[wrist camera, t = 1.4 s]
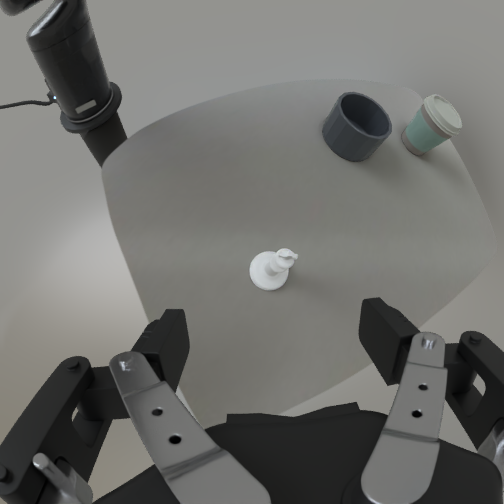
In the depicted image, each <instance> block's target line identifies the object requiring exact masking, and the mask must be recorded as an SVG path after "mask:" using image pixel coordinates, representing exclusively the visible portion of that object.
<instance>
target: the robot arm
mask: <svg viewBox="0 0 504 504" xmlns="http://www.w3.org/2000/svg"><path fill="white" fill-rule="evenodd" d="M40 1H42V0H0V8H1V9H2V11H3V12H4V13H5V14H7V15H9V16H15V15H18V14H20V13H22V12H24V11H25V10H27V9H29V8H30V7H32V6H33V5H35V4H37V3H39V2H40ZM26 39H27V43H28V45H29V47H30V49H31V51H32V53H33V55H34V57H35V59H36V61H37V63H38V65H39V67H40V69H41V71H42V73H43V75H44V77H45V82H46V84H47V86H48V88H49V90H50V91H49V93H48V94H47V96H48V98H49V99H50V101H49V102H41V101H32V100H31V101H23V102H18V103H13V104H8V105H3V106H0V109H3V108H9V107H15V106H19V105H25V104H36V105H43V106H47V105H50V104H52V103H57V104H58V105H59V107H60V109H61V111H62V112H63V114H65V116H66V118H67V119H68V121H69V122H71V123H74V124H81V123H85V122H88V121H91V120H93V119H95V118H96V117H98V116H99V115H101V114H102V113H103V112H104V111H105V110H106V109H107V108H108V107H109V106H110V104H111V102H112V100H113V96H114V93H113V90H112V88H111V86H110V83H109V80H108V77H107V74H106V71H105V67H104V64H103V61H102V58H101V55H100V52H99V49H98V45H97V42H96V38H95V35H94V31H93V28H92V24H91V21H90V17H89V13H88V9H87V3H86V0H54V1H53V3H52V4H51V6H50V7H49V8H48V9H47V11H46V12H45V13H44V14H43V15H42V16H41V17H40V18H39V19H38V20H37V21H36V22H35V23H34V24H33V25H32V27H31V28H30V29H29V31H28V33H27V36H26ZM359 339H360V342H361V344H362V345H363V347H364V348H365V350H366V352H367V353H368V355H369V356H370V358H371V360H372V361H373V363H374V364H375V366H376V368H377V369H378V371H379V373H380V374H381V376H382V377H383V379H384V381H385V382H386V384H387V386H389V385H394V384H399V387H398V390H397V394H396V396H395V399H394V402H393V405H392V407H391V410H390V413H389V415H386V414H383V413H379V412H374V411H367V410H360V409H359V407H358V404H357V402H353V403H348V404H343V405H336V406H330V407H325V408H322V409H320V410H316V411H313V412H310V413H307V414H304V415H300V416H296V417H288V416H279V415H270V414H262V413H253V414H227V421H226V423H223V424H219V425H215V426H212V427H209V428H207V429H205V430H204V429H203V428H202V427H201V426H200V424H199V423H198V422H197V421H196V420H195V418H194V417H193V416H192V415H191V414H190V412H189V411H188V410H187V408H186V407H185V406H184V405H183V403H182V402H181V401H180V399H179V398H178V397H177V396H176V394H175V393H176V389H177V386H178V383H179V380H180V377H181V374H182V371H183V369H184V366H185V363H186V360H187V357H188V354H189V348H190V343H189V336H188V330H187V324H186V318H185V313H184V310H183V309H166V310H165V312H164V314H163V315H162V317H161V318H160V320H154V321H153V322H151V323H150V324H148V325H147V327H146V328H145V330H144V332H143V333H142V335H141V336H140V338H139V339H138V340H137V342H136V343H135V345H134V346H133V348H132V350H131V351H130V352H124V353H120V354H118V355H116V356H115V357H113V358H112V359H111V361H110V363H109V366H105V367H94V368H92V367H91V365H90V362H89V360H88V359H87V358H85V357H82V356H75V357H70V358H68V359H66V360H64V361H63V362H61V364H59V366H58V367H57V368H56V369H55V371H54V372H53V373H52V374H51V376H50V377H49V378H48V380H47V381H46V382H45V383H44V385H43V386H42V387H41V389H40V390H39V391H38V392H37V394H36V395H35V397H34V398H33V399H32V400H31V402H30V403H29V405H28V406H27V407H26V409H25V410H24V411H23V413H22V415H21V416H20V417H19V418H18V420H17V422H16V423H15V424H14V426H13V427H12V429H11V430H10V432H9V433H8V435H7V436H6V438H5V439H4V441H3V442H2V444H1V445H0V497H1V498H2V499H3V500H4V501H5V502H7V503H8V504H503V497H502V495H503V492H504V352H503V351H502V350H500V348H498V347H497V346H496V345H495V344H494V343H493V342H492V341H491V340H490V339H489V338H487V337H486V336H485V335H484V334H482V333H479V332H476V331H466V332H464V333H463V334H462V335H461V338H460V341H459V343H453V344H452V343H451V344H445V341H444V339H443V338H442V337H441V336H439V335H438V334H435V333H431V332H420V331H419V330H418V329H417V328H416V327H415V326H414V325H413V324H412V323H411V322H410V321H409V320H408V319H407V318H406V317H404V315H403V314H402V313H401V312H400V311H399V310H397V309H395V308H393V307H391V306H388V305H387V304H386V303H385V302H384V301H383V300H382V299H381V298H379V297H378V298H369V299H364V300H363V302H362V307H361V316H360V324H359ZM477 374H478V375H479V376H480V377H481V378H482V379H483V381H484V382H485V386H486V390H485V393H484V395H483V396H482V395H481V394H480V392H479V391H478V390H477V388H476V387H475V386H474V385H473V382H474V380H475V378H476V376H477ZM444 400H446V401H447V403H448V404H449V406H450V407H451V409H452V410H453V412H454V414H455V415H456V416H457V418H458V420H459V421H460V423H461V425H462V426H463V428H464V429H465V431H466V433H467V434H468V436H469V437H470V439H471V441H472V443H473V444H474V446H475V448H476V449H477V451H478V452H477V453H474V452H471V451H469V450H466V449H464V448H461V447H458V446H456V445H453V444H451V443H448V442H446V441H443V440H441V439H439V438H438V437H439V431H440V426H441V420H442V415H443V408H444ZM76 407H77V409H78V412H77V414H76V416H75V418H74V420H73V421H72V414H73V412H74V410H75V408H76ZM124 418H131V420H132V422H133V424H134V426H135V428H136V430H137V432H138V434H139V436H140V438H141V440H142V442H143V444H144V445H145V447H146V449H147V451H148V453H149V454H150V456H151V458H152V460H153V462H154V463H155V464H154V465H152V466H151V467H149V468H148V469H146V470H145V471H143V472H142V473H140V474H139V475H137V476H136V477H134V478H133V479H131V480H129V481H128V482H126V483H125V484H123V485H121V486H120V487H118V488H116V489H115V490H113V491H111V492H109V493H108V494H106V495H104V496H102V497H101V498H99V499H98V500H96V501H95V502H93V503H92V500H93V493H92V490H91V487H90V486H89V485H88V481H89V478H90V475H91V473H92V470H93V467H94V465H95V462H96V459H97V457H98V454H99V452H100V449H101V447H102V444H103V442H104V439H105V437H106V435H107V432H108V430H109V427H110V425H111V423H112V420H113V419H124Z"/></svg>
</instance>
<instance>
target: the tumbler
mask: <svg viewBox="0 0 504 504" xmlns="http://www.w3.org/2000/svg"><path fill="white" fill-rule="evenodd" d="M322 132H323V137H324V139H325V141H326V143H327V144H328V146H329V147H330V148H331V149H332V150H333V151H334V152H335V153H336V154H337V155H339V156H341V157H342V158H344V159H347V160H350V161H356V162H358V161H363V160H365V159H367V158H368V157H369V156H370V155H371V154H372V153H373V152H374V151H375V150H376V149H377V148H378V147H379V146H380V145H381V144H382V143H383V142H384V141H385V139H386V138H387V137H388V136H389V135H390V133H391V132H392V124H391V121H390V119H389V116H388V114H387V113H386V112H385V111H384V109H383V108H382V107H381V106H380V105H379V104H378V103H377V102H375V101H374V100H373V99H371V98H369V97H367V96H365V95H363V94H360V93H356V92H348V93H344V94H342V95H341V96H340V97H339V98H338V100H337V102H336V103H335V105H334V107H333V108H332V110H331V112H330V114H329V115H328V117H327V119H326V120H325V123H324V125H323V129H322Z"/></svg>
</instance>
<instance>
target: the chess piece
mask: <svg viewBox="0 0 504 504" xmlns="http://www.w3.org/2000/svg"><path fill="white" fill-rule="evenodd" d="M297 257H298V254H293V252H292V251H291V250H289V249H286V248H283V249H280V250H278V251H277V253H276V252H272V251H267V252H263V253H260V254H258V255H257V256H256V257H255V258H254V259H253V260H252V262H251V264H250V270H249V271H250V277H251V279H252V281H253V283H254V284H255V285H256V286H257V287H259V288H261V289H263V290H268V291H271V290H276V289H278V288H280V287H281V286H282V285H283V284H284V283H285V281H286V280H287V277H288V273H289V269H288V268H290V267H291V266H292V265H293V264H294V261H295V259H297Z"/></svg>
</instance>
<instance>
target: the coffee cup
mask: <svg viewBox="0 0 504 504" xmlns="http://www.w3.org/2000/svg"><path fill="white" fill-rule="evenodd" d="M461 127H462V121H461V118H460V116H459V114H458V113H457V112H456V110H455V108H454V107H453V106H452V105H451V104H450V103H449V102H448V101H447V100H446V99H445V98H443V97H441V96H440V95H437V94H434V95H432V96H428V97H427V98H425V99H424V104H423V105H422V106H421V108H420V109H419V111H418V112H417V113H416V115H415V116H414V118H413V119H412V121H411V122H410V123H409V125H408V126H407V127H406V129H405V130H404V132H403V133H402V140H403V143H404V144H405V146H406V147H407V149H408V150H409V151H410V152H412V153H413V154H415V155H422V154H424V153H426V152H427V151H429V150H431V149H432V148H434V147H436V146H437V145H439V144H441V143H442V142H444V141H446V140H447V139H449V138H450V137H452V136H457V135H458V133H459V132H460V129H461Z"/></svg>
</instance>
